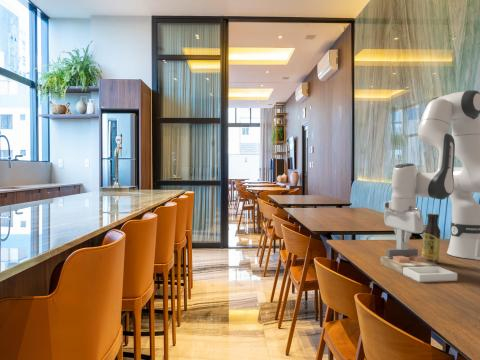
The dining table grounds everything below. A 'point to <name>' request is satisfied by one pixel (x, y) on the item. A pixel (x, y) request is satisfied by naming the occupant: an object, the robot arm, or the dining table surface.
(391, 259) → the birch board
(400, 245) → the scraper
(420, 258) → the tile
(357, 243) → the dining table surface
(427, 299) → the dining table surface
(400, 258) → the tile
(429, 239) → the sauce bottle
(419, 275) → the tray
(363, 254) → the dining table surface
